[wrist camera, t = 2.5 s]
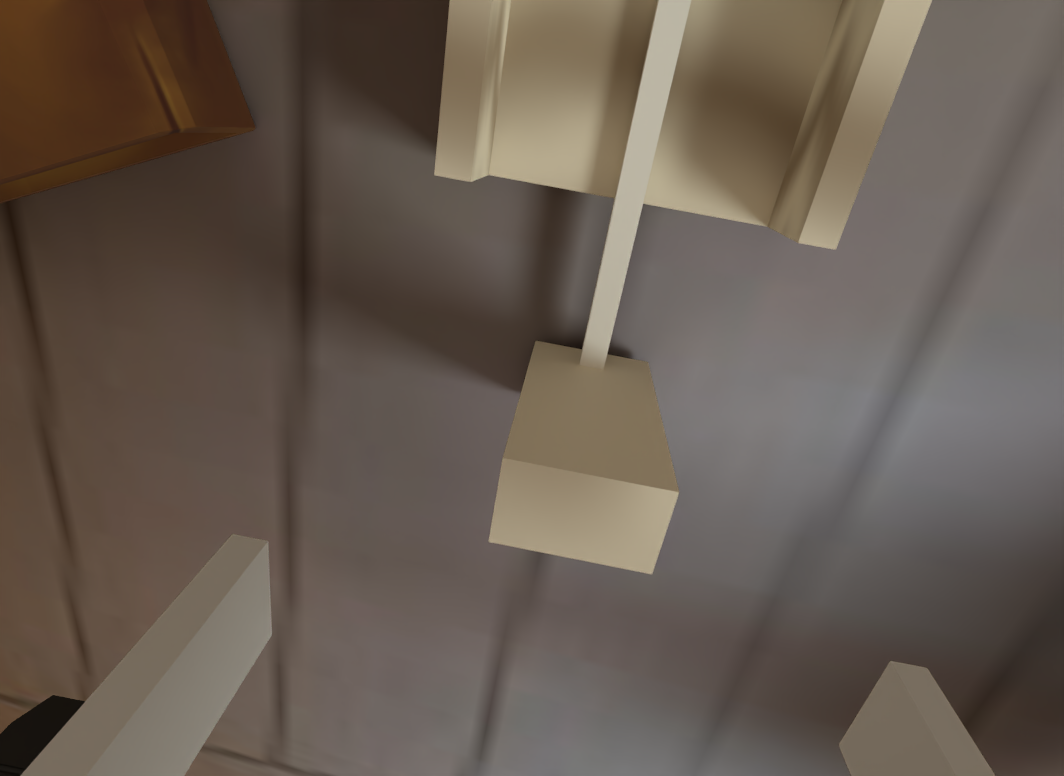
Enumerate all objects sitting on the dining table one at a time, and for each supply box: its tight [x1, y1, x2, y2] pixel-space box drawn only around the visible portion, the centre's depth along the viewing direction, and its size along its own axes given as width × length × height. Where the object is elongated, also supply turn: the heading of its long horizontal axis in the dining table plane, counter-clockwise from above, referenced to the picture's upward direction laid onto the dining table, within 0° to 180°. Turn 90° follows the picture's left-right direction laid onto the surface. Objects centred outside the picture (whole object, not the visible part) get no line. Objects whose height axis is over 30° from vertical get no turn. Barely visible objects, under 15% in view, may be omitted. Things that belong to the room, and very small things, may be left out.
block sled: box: [489, 0, 691, 574], centre depth 16 cm, size 28×8×10 cm, turn 171°
